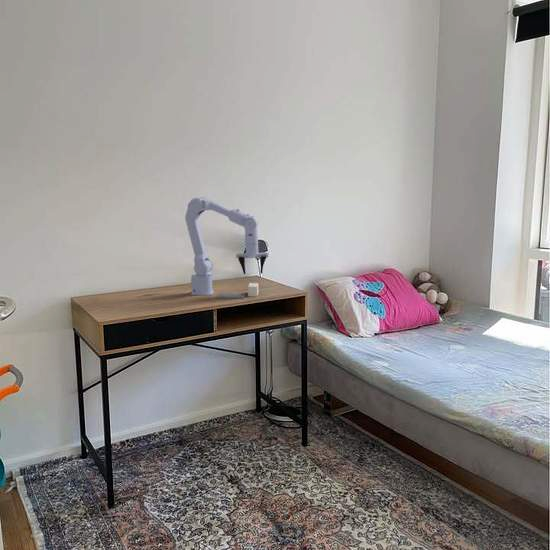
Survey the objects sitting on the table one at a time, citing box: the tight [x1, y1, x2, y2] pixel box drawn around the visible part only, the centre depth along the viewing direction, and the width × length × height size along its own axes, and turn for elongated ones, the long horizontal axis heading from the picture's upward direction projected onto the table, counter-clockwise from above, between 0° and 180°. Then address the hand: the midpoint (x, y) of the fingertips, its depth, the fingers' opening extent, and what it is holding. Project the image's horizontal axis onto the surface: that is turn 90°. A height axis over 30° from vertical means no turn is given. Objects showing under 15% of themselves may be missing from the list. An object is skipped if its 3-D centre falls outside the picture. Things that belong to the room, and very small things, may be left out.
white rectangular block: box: [247, 282, 259, 297], centre depth 249 cm, size 4×8×4 cm, turn 178°
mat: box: [216, 292, 247, 299], centre depth 246 cm, size 12×9×1 cm
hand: (252, 273), depth 248 cm, fingers open, 7 cm apart
